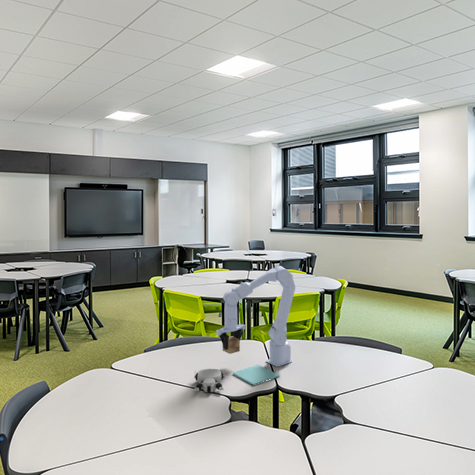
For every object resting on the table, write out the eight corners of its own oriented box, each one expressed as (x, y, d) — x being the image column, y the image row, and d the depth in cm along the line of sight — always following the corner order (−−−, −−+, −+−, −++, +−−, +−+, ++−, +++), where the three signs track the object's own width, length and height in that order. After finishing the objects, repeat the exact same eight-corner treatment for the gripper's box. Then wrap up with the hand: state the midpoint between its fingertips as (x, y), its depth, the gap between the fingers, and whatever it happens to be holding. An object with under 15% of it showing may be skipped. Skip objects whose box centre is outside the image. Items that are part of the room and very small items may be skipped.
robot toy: (225, 396, 160) (224, 377, 175) (224, 385, 160) (224, 367, 174) (193, 397, 160) (195, 378, 175) (192, 386, 159) (194, 367, 174)
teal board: (257, 366, 186) (257, 364, 186) (279, 376, 175) (279, 375, 175) (232, 374, 178) (232, 372, 178) (253, 386, 167) (253, 384, 167)
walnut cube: (232, 347, 191) (232, 336, 190) (239, 351, 186) (239, 339, 186) (222, 350, 187) (222, 338, 187) (229, 353, 183) (229, 341, 182)
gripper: (238, 313, 193) (238, 341, 194) (212, 318, 184) (212, 348, 185) (247, 316, 187) (247, 345, 189) (221, 322, 179) (221, 353, 180)
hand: (231, 347), depth 187 cm, fingers closed on walnut cube, 5 cm apart
